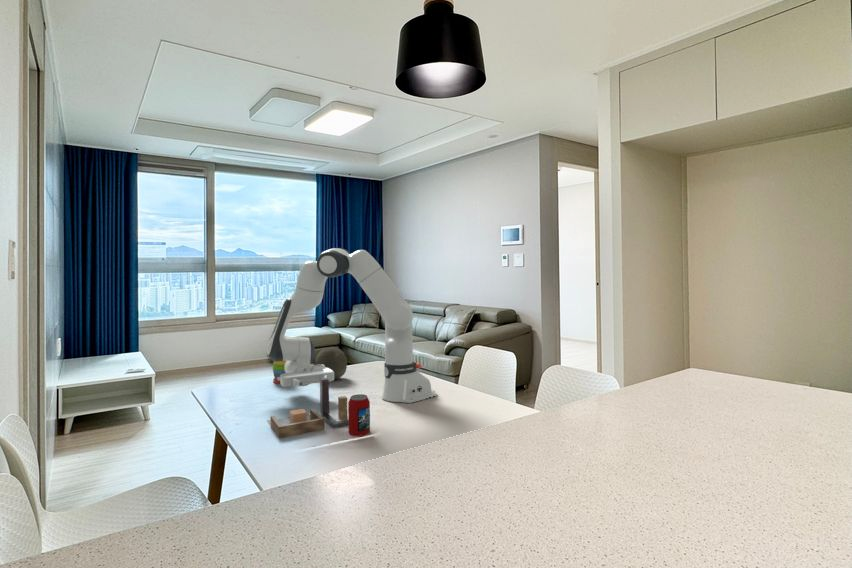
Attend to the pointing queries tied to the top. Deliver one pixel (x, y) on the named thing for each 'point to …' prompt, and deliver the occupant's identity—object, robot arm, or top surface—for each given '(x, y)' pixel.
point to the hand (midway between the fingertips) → (313, 382)
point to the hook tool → (325, 405)
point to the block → (298, 416)
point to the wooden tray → (297, 425)
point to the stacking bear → (278, 370)
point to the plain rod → (342, 407)
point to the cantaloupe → (333, 360)
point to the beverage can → (359, 415)
